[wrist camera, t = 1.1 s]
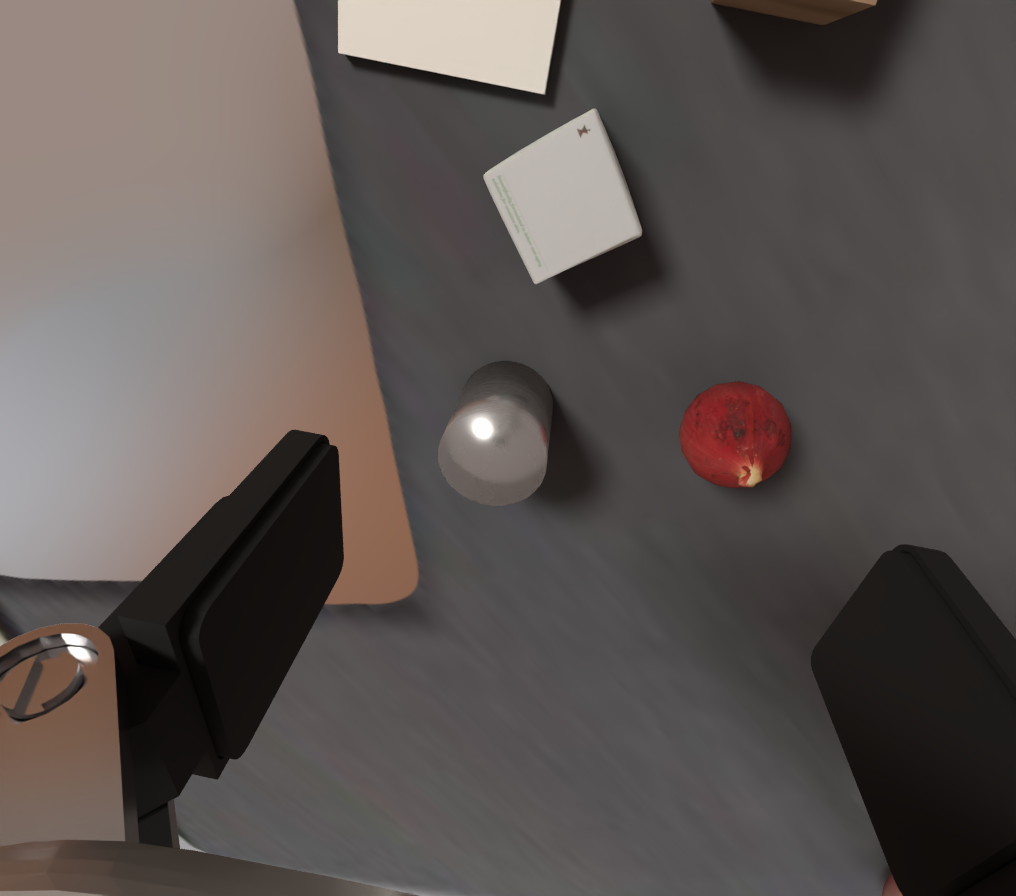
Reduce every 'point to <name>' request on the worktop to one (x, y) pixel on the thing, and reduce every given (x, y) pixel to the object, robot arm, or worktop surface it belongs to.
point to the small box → (564, 198)
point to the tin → (498, 435)
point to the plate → (456, 37)
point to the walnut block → (802, 8)
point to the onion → (735, 435)
